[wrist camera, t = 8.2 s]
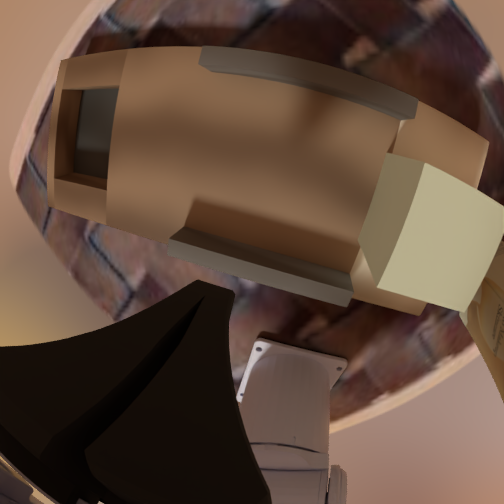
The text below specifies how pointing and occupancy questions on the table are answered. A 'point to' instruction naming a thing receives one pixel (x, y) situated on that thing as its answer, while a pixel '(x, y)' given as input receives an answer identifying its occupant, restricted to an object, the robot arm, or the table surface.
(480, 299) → the skincare box
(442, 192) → the sage block
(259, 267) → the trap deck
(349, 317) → the table surface
